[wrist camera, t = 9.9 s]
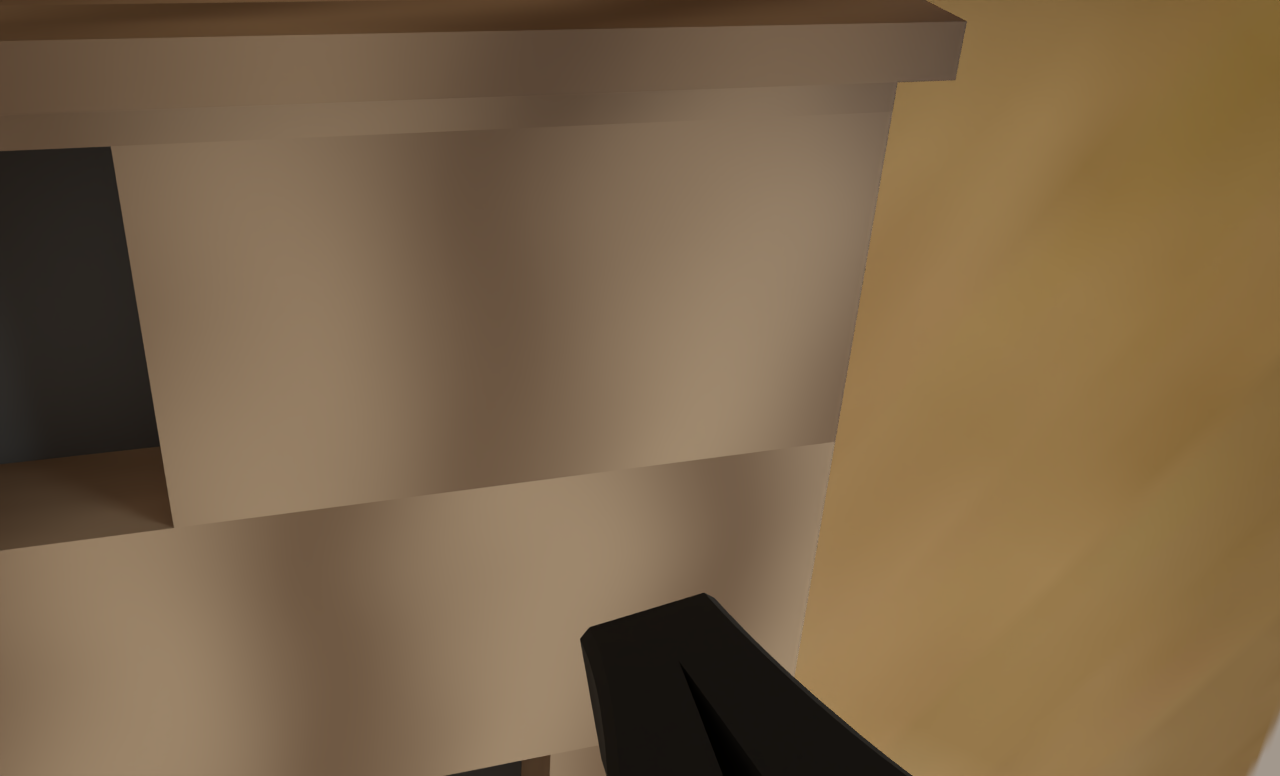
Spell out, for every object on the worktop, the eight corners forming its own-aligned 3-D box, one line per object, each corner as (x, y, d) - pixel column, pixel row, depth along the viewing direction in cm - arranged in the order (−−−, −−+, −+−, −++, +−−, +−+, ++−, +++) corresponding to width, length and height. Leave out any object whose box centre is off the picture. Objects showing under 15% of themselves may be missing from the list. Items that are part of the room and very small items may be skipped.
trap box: (837, -45, 20) (1029, 52, 15) (710, 858, 31) (799, 1064, 27) (-1126, -41, 13) (-1803, 136, 9) (-374, 1109, 24) (-498, 1444, 20)
